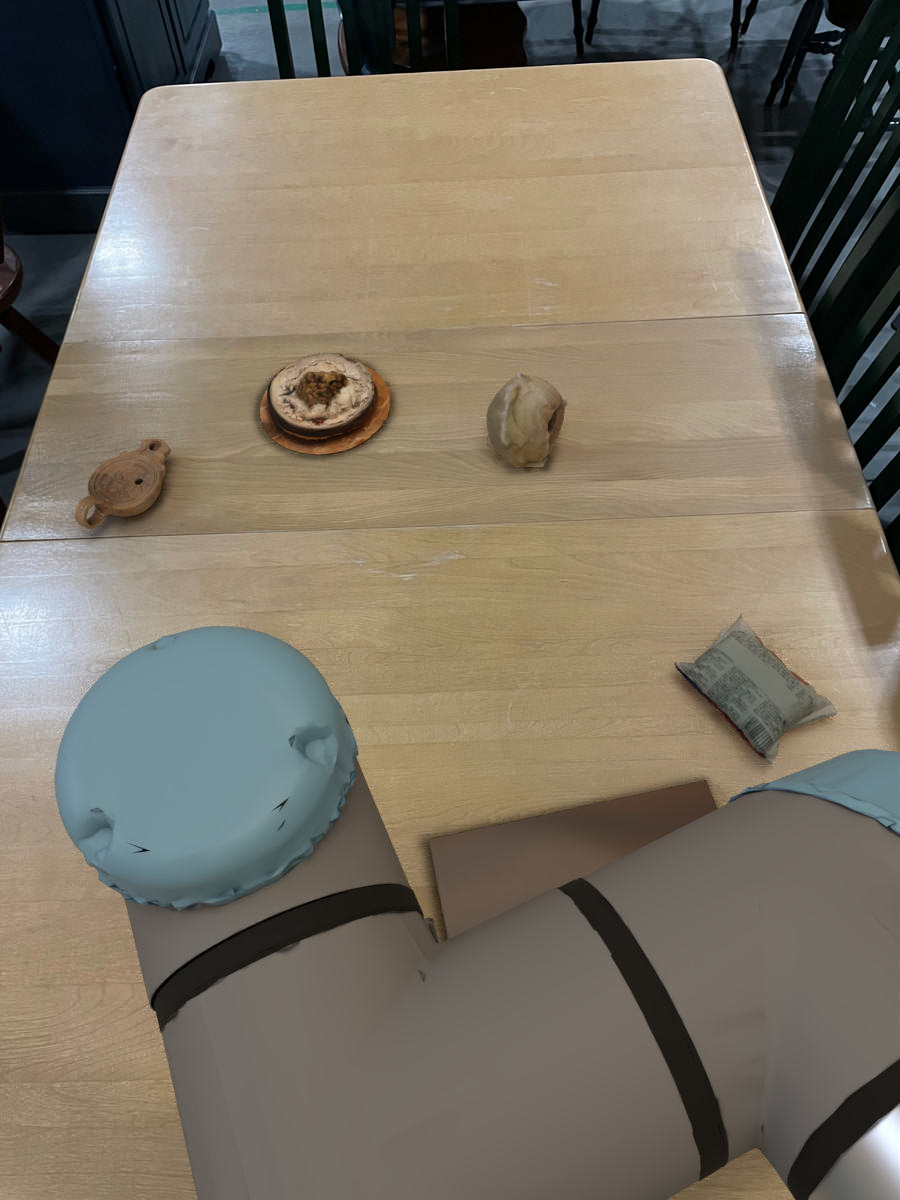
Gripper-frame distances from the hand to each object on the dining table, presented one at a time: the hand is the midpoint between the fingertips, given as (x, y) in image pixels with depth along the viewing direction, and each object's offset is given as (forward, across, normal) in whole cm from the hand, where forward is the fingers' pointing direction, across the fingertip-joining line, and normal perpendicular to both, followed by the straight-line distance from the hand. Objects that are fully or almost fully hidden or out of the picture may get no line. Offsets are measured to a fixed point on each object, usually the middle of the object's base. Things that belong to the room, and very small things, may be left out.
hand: (362, 978), depth 54 cm
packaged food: (+12, -17, +37) cm, 43 cm away
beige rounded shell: (+12, -52, +26) cm, 59 cm away
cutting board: (+12, -3, +18) cm, 22 cm away
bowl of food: (+12, -63, +6) cm, 64 cm away
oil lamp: (+12, -55, -16) cm, 58 cm away
